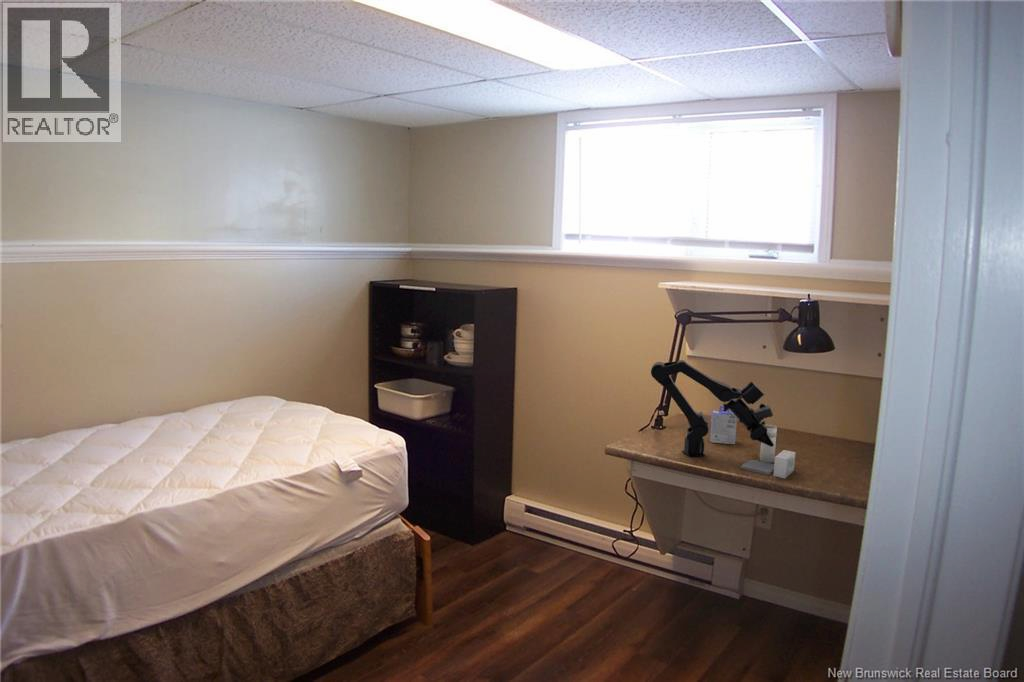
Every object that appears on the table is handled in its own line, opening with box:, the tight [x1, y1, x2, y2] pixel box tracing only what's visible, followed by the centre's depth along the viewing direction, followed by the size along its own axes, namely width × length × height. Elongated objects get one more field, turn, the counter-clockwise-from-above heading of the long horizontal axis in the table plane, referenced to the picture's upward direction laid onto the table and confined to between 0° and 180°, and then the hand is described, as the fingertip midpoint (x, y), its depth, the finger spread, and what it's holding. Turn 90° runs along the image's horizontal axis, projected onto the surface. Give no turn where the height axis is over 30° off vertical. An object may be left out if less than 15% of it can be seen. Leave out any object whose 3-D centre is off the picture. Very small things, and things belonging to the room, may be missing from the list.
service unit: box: [773, 449, 796, 479], centre depth 249 cm, size 4×10×7 cm, turn 143°
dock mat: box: [740, 459, 774, 476], centre depth 254 cm, size 10×10×1 cm
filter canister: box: [759, 424, 778, 464], centre depth 262 cm, size 5×5×13 cm
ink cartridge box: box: [709, 405, 738, 445], centre depth 285 cm, size 10×6×14 cm, turn 78°
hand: (772, 443), depth 262 cm, fingers closed on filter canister, 5 cm apart
